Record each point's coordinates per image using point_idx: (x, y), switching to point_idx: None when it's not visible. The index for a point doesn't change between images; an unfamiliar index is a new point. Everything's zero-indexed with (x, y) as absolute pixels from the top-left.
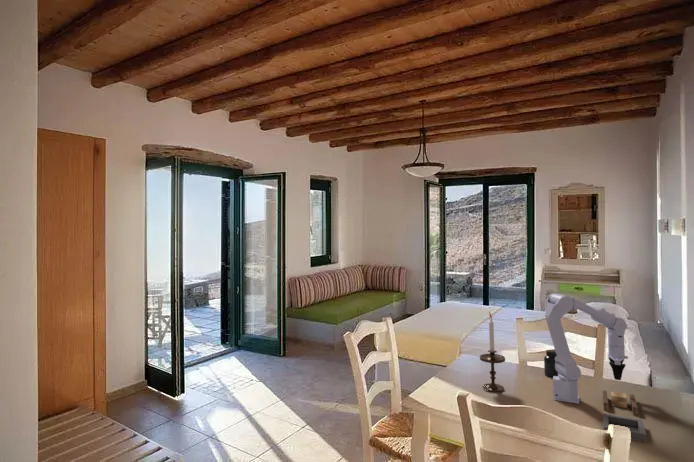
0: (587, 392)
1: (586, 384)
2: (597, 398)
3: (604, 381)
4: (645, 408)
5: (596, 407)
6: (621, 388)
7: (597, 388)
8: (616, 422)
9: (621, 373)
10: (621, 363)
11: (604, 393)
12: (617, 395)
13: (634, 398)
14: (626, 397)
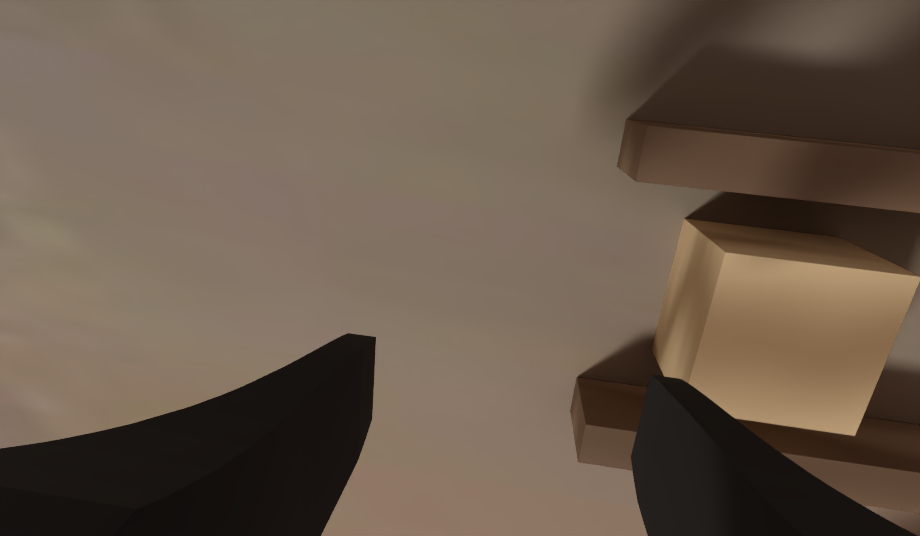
0: (467, 509)
1: None
2: None
3: (48, 308)
4: (822, 24)
5: (876, 509)
6: (190, 176)
7: None
8: None
9: (789, 472)
10: (243, 477)
11: None
12: (823, 367)
13: (808, 150)
14: (897, 274)
